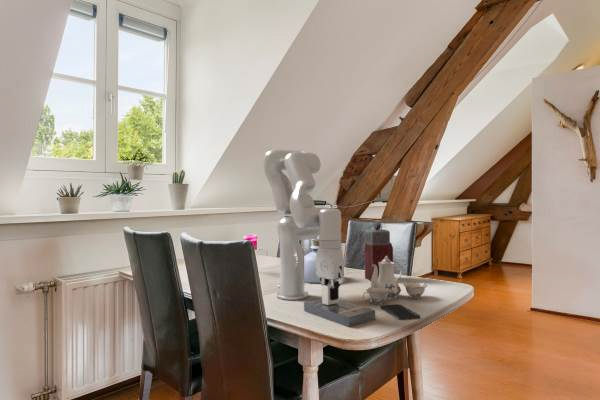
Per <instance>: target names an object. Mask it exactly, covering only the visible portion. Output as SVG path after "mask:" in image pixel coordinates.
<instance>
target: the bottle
mask: <svg viewBox="0 0 600 400" xmlns="http://www.w3.org/2000/svg"><path fill="white" fill-rule="evenodd" d="M311 241H312V245H311V246H310V247H309V248H310V249H312V251H311V252H309V253H307V254H304V283H307V284H319V285H320V284H321V283H322V282H321V281H320V279H319V278H318V277H317V275H316V257H317V251H318V248H319V238H315V239H311ZM335 282H336V281H334V283H335ZM330 284H331V280H330Z"/></svg>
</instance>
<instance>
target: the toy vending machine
mask: <svg viewBox="0 0 600 400" xmlns="http://www.w3.org/2000/svg"><path fill="white" fill-rule="evenodd" d="M381 222H382V221H381V220H379V219H376V220H375V219H374V220H373V222H372V225H373V229H365V230H364V279H365V278H366V280H367V279H368V280H367V281H369V280H370V281H369V282H371V279H372V276H373V272H374V266H373V265H372V264H375V265H376V266H377V268H378V276H379V263H378V262H382V260H383V259H385V256H387V257H388V259H390V260H391V262H394V247H393V244H392V242H391V237H390V236H391V234H390V233H391V232H390V230H387V229H381V227H382V223H381ZM377 279H378V277H377Z"/></svg>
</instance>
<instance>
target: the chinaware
mask: <svg viewBox="0 0 600 400" xmlns="http://www.w3.org/2000/svg"><path fill="white" fill-rule="evenodd" d="M378 263H379V276H378V268H377V266H376V265H375V264H372V265H373V266H374V272H373V276H372V279H371V281H370V286H369V287H368V288H367V289H366V291H365V292H364V293H363V294H362V298H363V300H365V301H370V303H373V304H374V305H380V306H381V305H384V303H383V302H384V301H386V300H388V299H389V300H396V299H398V298H397V297H398V295H399V294H400V293H401V292H402V289H401V287H400V286H399V284H400V279H401V277H402V275H403V267H402V266H401V265H400V264H399V263H395V261H393V262H391V260H390V259H388V257H387V256H385V259H383V260H382V262H378ZM396 266H398V267H399V274H398V276H397V277H395V271H394V269H395V268H396ZM377 277H378V279H377ZM403 286H404V287H405V291H406V293H407V294H408V295H409V296H410V299H412V298H418V297H421V296H422V295H423V294H424V293H425V291H426V288H427V287H428V285H427V284H425V283H424V282H417V283H416V282H413V281H410V282H407V283H403ZM365 294H368V296H369V298H368V299H366V298H365ZM395 298H396V299H395Z"/></svg>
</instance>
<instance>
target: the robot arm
mask: <svg viewBox="0 0 600 400" xmlns="http://www.w3.org/2000/svg"><path fill="white" fill-rule="evenodd" d="M262 163H263V170H264V171H263V172H264V174H265V177H266V179H267V181H268V184H269V186H270V188H271V189H270V190H271V193H272V197H273V201H274V205H275V209H276V211H277V213H278V215H281V216H286V217H283V218H282V219H280V220H279V221H278V222H277V227H276V229H277V233H278V235H277V237H278V241H279V259H280V260H279V261H280V262H279V266H280V268H279V270H280V271H279V272H280V273H279V276H280V280H279V281H280V282H279V284H277V285H276V287H277V288H278V289H279V291H277V293H276V298H278V299H281V300H285V301H286V300H287V301H288V300H289V301H290V300H291V301H296V300H304V299H306V298H308V297H309V292H308V291H306V290H305V282H304V256H305V251H304V248H303V246H302V245H301V243H300V241H304V240H305V241H306V240H307V241H308V240H314V239H319V248H318V251H317V257H316V275H317V277H318V278H319V279H320V281H321V282H322V283H321V287H322V286H323V285H328V284H331V288H330V300H336V299H338V288H339V289H340V286H341V284H344V283H345V281H346V279H345V277H344V276H345V264H344V255H343V249H342V212H341V210H340V209H338V208H328V207H324V206H323V207H321V206H320V207H316V205H315V201H314V199H313V197H312V196H311V194H309V193H310V192H312V191H313V190H314V189H315V186H316V180H315V178H314V174H317V173H319V171H320V169H321V164H322V163H321V159H320V157H319V155H317V154H316V153H314V152H310V151H309V152H308V151H304V150H297V149H279V148H277V149H271V150H269V151H266V152H265V154H264V156H263V162H262ZM283 171H286V172H287V175H288V176H287V175H286V174H285V173H284V172H283ZM330 280H331V283H330ZM334 281H336V282H334Z"/></svg>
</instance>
